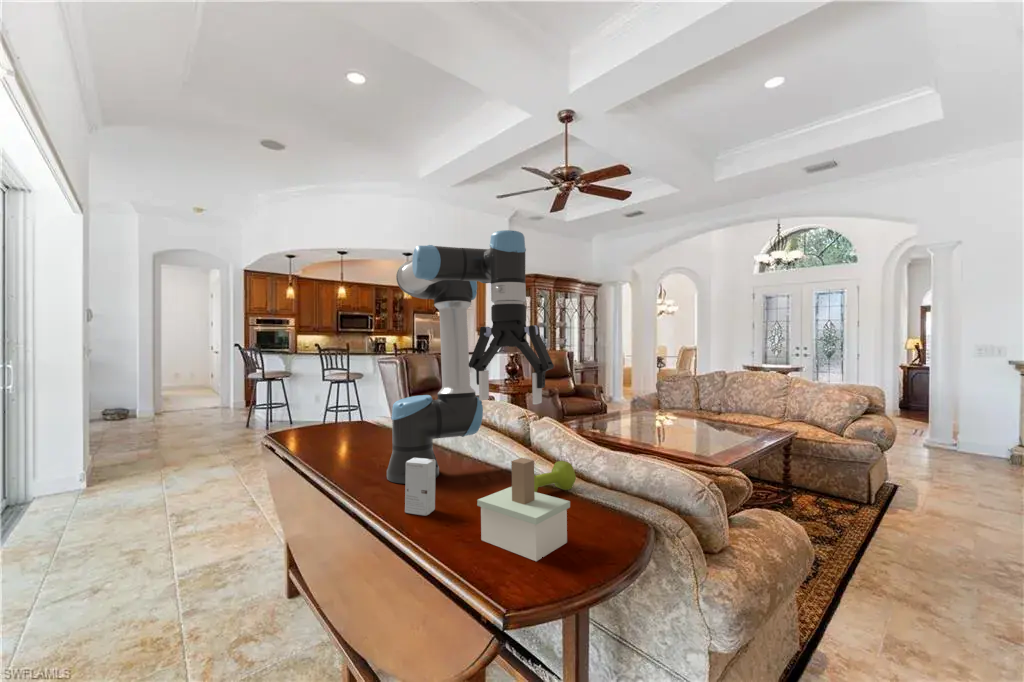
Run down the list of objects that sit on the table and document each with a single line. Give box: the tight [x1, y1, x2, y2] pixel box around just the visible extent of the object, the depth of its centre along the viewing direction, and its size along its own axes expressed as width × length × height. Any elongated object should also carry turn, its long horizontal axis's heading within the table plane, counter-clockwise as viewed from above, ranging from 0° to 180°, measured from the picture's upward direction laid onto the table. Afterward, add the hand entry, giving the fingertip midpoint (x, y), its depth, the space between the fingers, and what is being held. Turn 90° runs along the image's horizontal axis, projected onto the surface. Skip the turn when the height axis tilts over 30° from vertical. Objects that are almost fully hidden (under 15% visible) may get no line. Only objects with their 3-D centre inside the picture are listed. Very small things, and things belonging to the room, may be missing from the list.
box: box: [480, 507, 568, 562], centre depth 93 cm, size 14×10×7 cm
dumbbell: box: [534, 460, 577, 493], centre depth 122 cm, size 16×8×7 cm, turn 123°
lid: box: [476, 457, 571, 525], centre depth 93 cm, size 15×11×10 cm
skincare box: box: [404, 458, 437, 517], centre depth 110 cm, size 6×4×12 cm
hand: (509, 401), depth 101 cm, fingers open, 13 cm apart
